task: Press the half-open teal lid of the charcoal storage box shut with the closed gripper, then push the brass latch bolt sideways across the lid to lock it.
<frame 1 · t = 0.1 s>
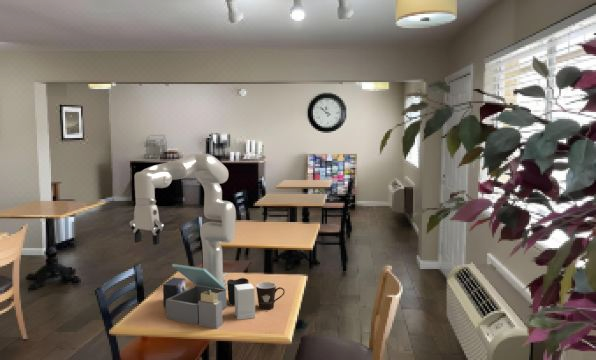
hand: (147, 243, 203), 31 cm above the table, tool pointing down, fingers open, 9 cm apart
storage box: (197, 313, 210), on the table
lid: (199, 277, 210), point 15 cm above the table, hinge at 40.0°
coffee mug: (269, 308, 215), on the table
pen holder: (238, 303, 222), on the table
small box: (175, 304, 221), on the table
supplement box: (244, 316, 206), on the table
latch bolt: (209, 295, 196), point 12 cm above the table, slide at 0.0 cm
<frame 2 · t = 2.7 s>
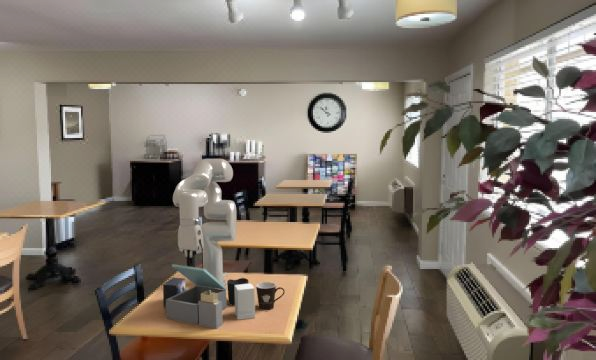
hand: (190, 265, 204), 21 cm above the table, tool pointing down, fingers closed
lid: (199, 277, 210), point 15 cm above the table, hinge at 39.6°, touching gripper
everything else where it was.
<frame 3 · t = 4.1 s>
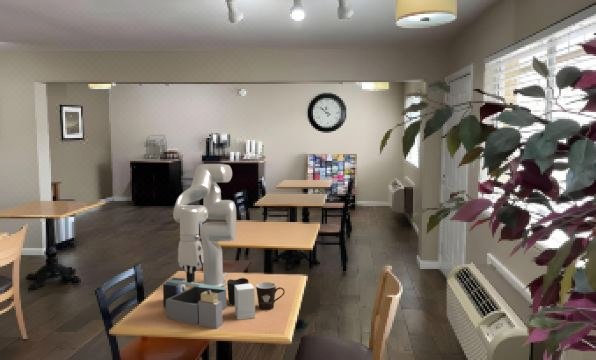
hand: (190, 281, 204), 15 cm above the table, tool pointing down, fingers closed
lid: (197, 284, 209), point 12 cm above the table, hinge at 20.6°, touching gripper
everything else where it was.
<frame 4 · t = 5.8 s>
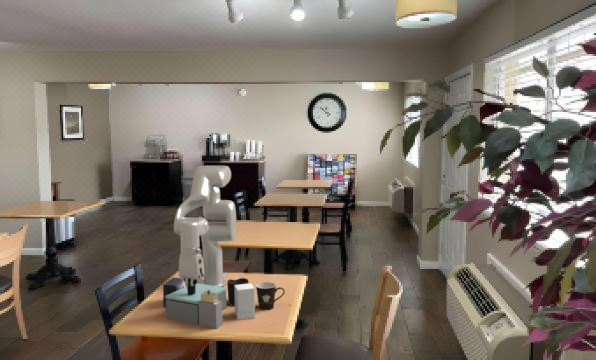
hand: (191, 294, 205), 9 cm above the table, tool pointing down, fingers closed
lid: (196, 292, 209), point 9 cm above the table, hinge at 1.5°, touching gripper
everything else where it was.
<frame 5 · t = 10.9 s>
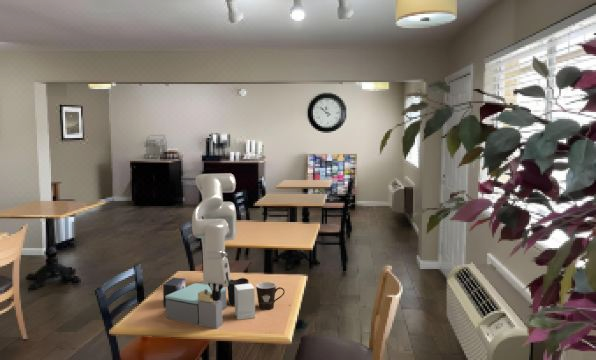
hand: (216, 299, 194), 11 cm above the table, tool pointing down, fingers closed
lid: (196, 292, 209), point 9 cm above the table, hinge at 1.3°
latch bolt: (206, 295, 196), point 12 cm above the table, slide at 1.5 cm, touching gripper
everything else where it was.
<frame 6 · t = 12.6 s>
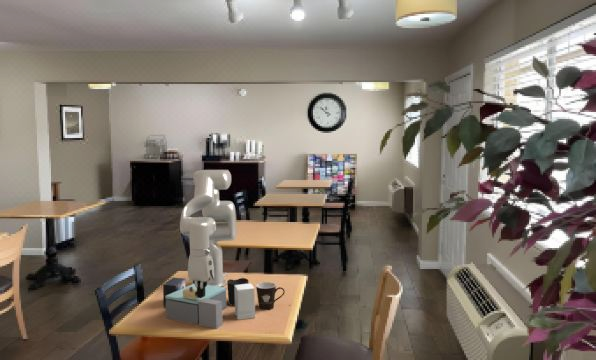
hand: (201, 296, 198), 11 cm above the table, tool pointing down, fingers closed
latch bolt: (191, 292, 200), point 12 cm above the table, slide at 8.8 cm, touching gripper
everything else where it was.
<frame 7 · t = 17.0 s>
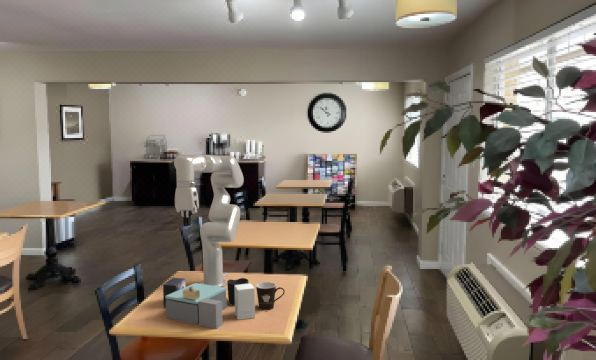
hand: (187, 225, 219), 35 cm above the table, tool pointing down, fingers closed
latch bolt: (191, 292, 200), point 12 cm above the table, slide at 8.9 cm
everything else where it was.
at the end: lid at +1° (first picture: +40°); latch bolt slide at 8.9 cm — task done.
